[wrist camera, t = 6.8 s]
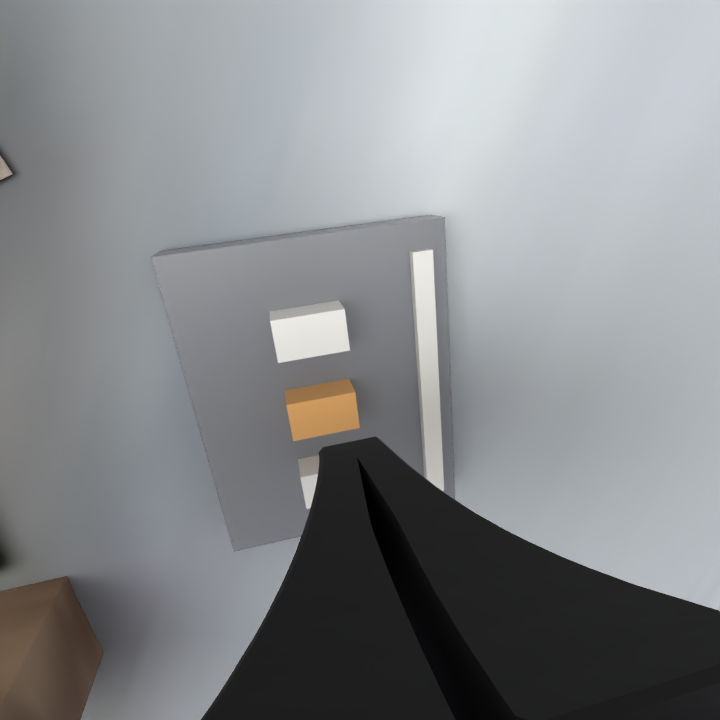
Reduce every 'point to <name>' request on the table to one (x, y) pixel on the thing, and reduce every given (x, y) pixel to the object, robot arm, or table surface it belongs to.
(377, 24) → the table surface
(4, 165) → the condiment
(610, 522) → the table surface
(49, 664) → the walnut block
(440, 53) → the table surface
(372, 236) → the panel
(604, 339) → the table surface
